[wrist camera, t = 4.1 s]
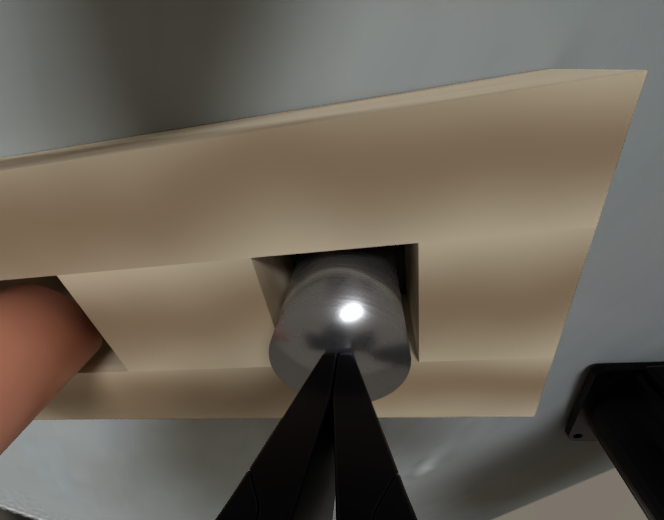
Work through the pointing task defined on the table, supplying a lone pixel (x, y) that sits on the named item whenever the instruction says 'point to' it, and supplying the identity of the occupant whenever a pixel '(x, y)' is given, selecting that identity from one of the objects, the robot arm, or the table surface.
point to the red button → (38, 352)
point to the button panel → (324, 240)
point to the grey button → (343, 318)
